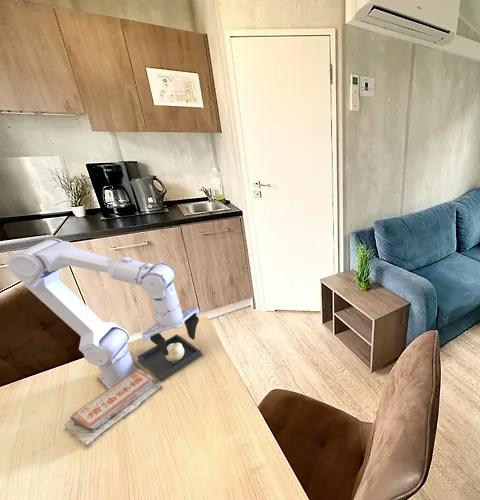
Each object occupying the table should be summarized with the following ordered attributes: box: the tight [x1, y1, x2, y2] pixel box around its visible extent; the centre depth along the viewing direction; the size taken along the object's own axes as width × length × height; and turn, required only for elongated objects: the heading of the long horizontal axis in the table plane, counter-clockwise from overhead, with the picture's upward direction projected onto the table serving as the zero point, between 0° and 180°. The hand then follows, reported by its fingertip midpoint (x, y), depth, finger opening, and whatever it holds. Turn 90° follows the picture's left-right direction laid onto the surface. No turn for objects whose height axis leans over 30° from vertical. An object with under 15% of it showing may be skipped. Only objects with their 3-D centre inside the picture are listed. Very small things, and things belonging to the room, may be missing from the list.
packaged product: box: [63, 368, 161, 446], centre depth 75 cm, size 18×5×10 cm
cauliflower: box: [165, 343, 184, 364], centre depth 90 cm, size 5×5×6 cm
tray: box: [137, 334, 202, 382], centre depth 92 cm, size 14×12×2 cm
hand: (179, 345), depth 83 cm, fingers open, 7 cm apart
